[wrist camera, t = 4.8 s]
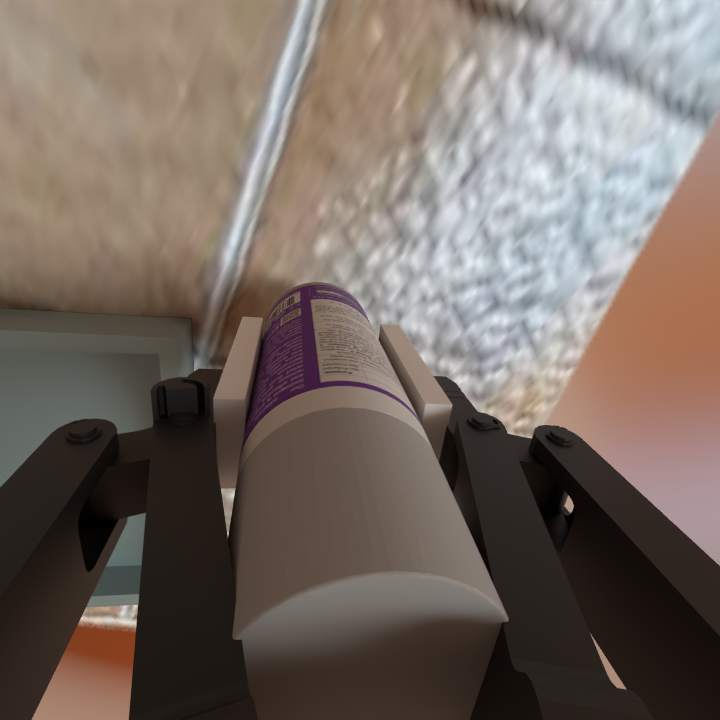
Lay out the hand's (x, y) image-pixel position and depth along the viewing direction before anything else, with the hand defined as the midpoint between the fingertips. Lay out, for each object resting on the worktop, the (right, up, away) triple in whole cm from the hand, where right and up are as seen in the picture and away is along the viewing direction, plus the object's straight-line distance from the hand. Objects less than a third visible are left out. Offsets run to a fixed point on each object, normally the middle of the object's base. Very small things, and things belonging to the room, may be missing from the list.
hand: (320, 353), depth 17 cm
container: (0, +1, +3) cm, 3 cm away
